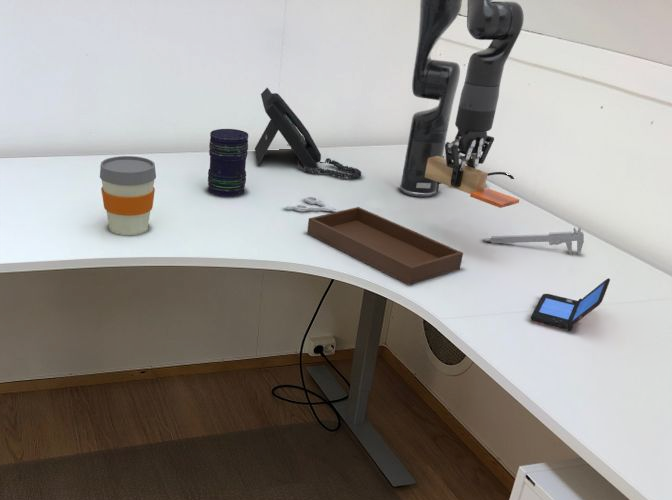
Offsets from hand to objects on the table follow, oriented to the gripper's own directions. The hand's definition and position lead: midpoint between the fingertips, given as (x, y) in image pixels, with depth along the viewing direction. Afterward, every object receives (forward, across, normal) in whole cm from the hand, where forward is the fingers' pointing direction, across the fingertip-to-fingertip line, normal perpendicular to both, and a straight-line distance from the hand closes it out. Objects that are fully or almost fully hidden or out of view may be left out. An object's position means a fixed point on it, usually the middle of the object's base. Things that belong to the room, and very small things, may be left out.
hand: (461, 184), depth 175 cm
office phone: (+14, +11, +62) cm, 64 cm away
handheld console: (+14, -10, -37) cm, 41 cm away
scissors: (+14, -11, +28) cm, 33 cm away
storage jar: (+14, -24, +53) cm, 60 cm away
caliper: (+14, +14, -12) cm, 23 cm away
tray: (+13, -18, +4) cm, 23 cm away
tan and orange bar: (+1, 0, -2) cm, 2 cm away
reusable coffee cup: (+13, -60, +44) cm, 75 cm away
